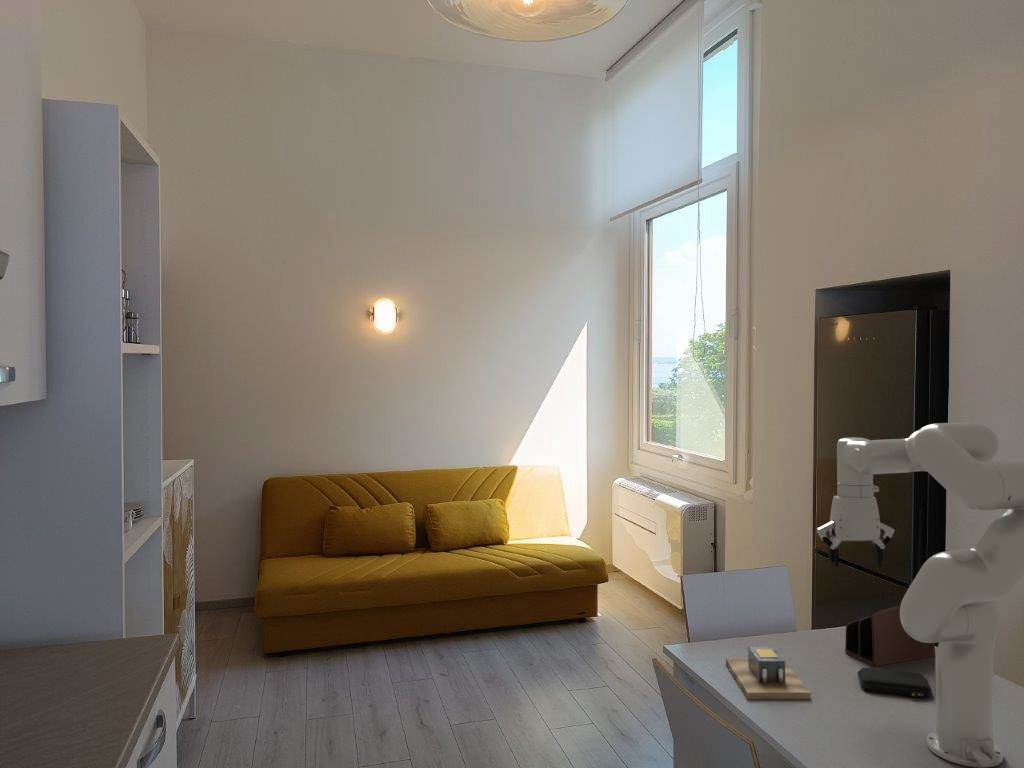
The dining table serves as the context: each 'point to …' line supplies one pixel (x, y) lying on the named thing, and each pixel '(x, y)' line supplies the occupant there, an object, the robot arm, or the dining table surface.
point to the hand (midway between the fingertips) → (855, 564)
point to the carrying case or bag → (894, 682)
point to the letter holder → (884, 640)
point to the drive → (765, 663)
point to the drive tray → (766, 690)
